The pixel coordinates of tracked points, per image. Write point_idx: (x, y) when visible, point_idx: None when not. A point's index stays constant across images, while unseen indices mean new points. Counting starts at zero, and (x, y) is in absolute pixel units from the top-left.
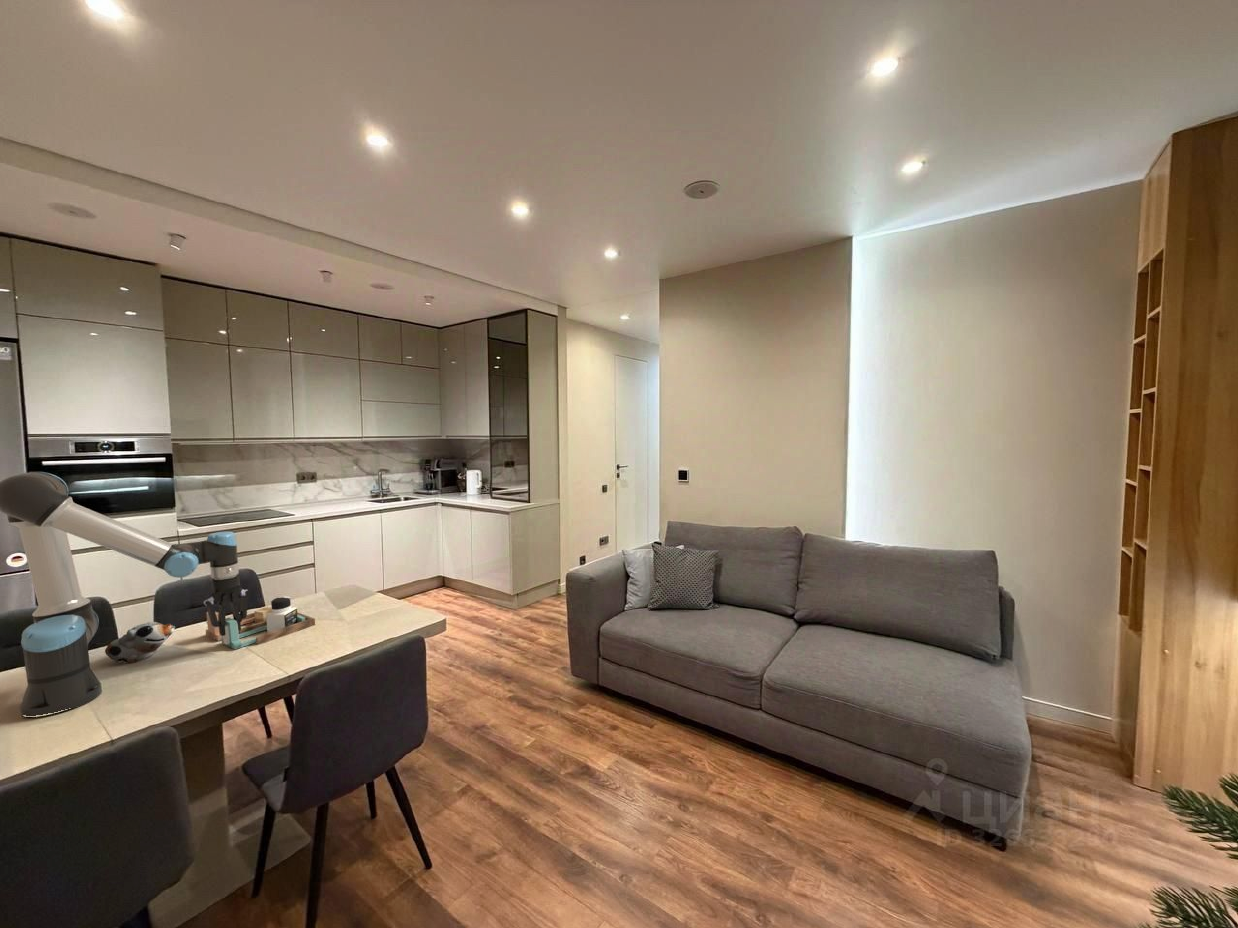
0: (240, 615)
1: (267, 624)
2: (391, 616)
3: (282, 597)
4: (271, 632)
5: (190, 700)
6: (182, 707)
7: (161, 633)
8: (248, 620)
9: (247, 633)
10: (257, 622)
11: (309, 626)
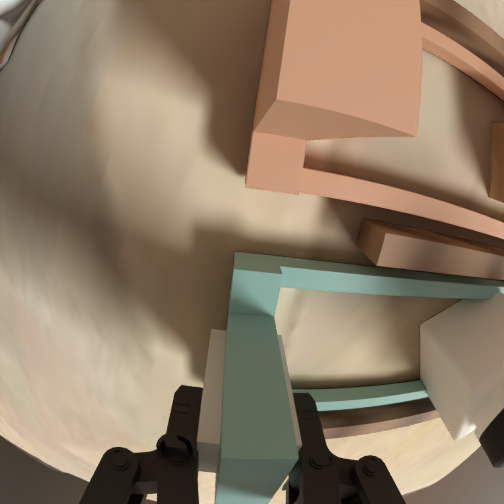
0: (347, 489)
1: (441, 357)
2: (472, 442)
3: None
4: (365, 428)
5: (73, 466)
6: (65, 466)
7: None
8: (490, 83)
9: (376, 291)
10: (495, 140)
11: None
